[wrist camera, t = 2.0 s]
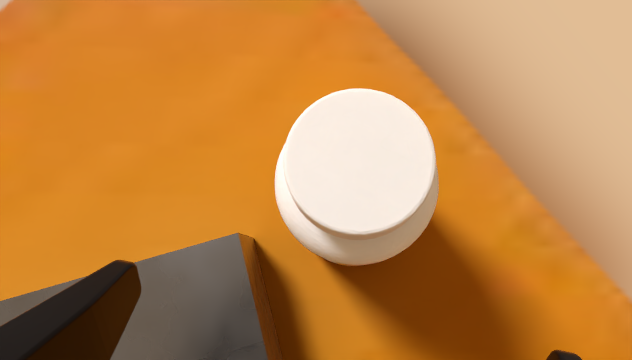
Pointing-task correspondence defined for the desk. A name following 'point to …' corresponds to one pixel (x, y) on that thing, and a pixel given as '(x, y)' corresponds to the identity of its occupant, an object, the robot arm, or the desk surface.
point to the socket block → (191, 306)
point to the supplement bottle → (357, 177)
